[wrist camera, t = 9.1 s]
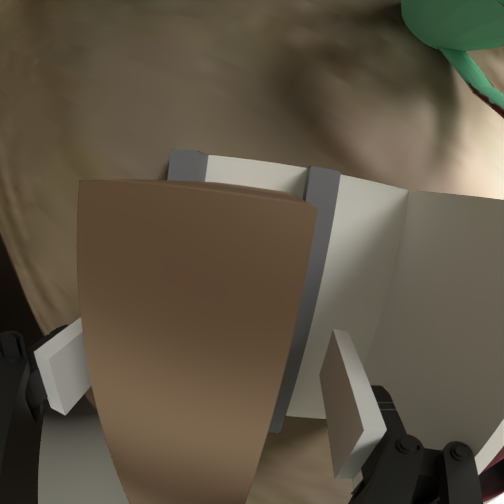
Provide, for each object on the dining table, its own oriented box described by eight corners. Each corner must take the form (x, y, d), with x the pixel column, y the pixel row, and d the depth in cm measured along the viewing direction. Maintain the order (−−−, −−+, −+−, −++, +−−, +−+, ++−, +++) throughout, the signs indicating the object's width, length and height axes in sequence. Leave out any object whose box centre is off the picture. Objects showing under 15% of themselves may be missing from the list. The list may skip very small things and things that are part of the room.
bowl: (438, 488, 23) (452, 528, 15) (430, 453, 21) (452, 505, 13) (527, 427, 20) (550, 458, 12) (538, 374, 18) (572, 409, 10)
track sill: (178, 154, 17) (2, 115, 4) (427, 196, 16) (599, 229, 3) (165, 382, 21) (91, 513, 8) (361, 410, 20) (395, 548, 7)
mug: (345, -21, 13) (372, -110, 3) (441, -19, 11) (491, -75, 2) (433, 156, 15) (543, 144, 6) (517, 135, 14) (606, 127, 4)
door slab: (218, 182, 16) (79, 180, 4) (289, 192, 16) (317, 208, 4) (198, 386, 19) (140, 526, 8) (253, 396, 19) (228, 548, 7)
